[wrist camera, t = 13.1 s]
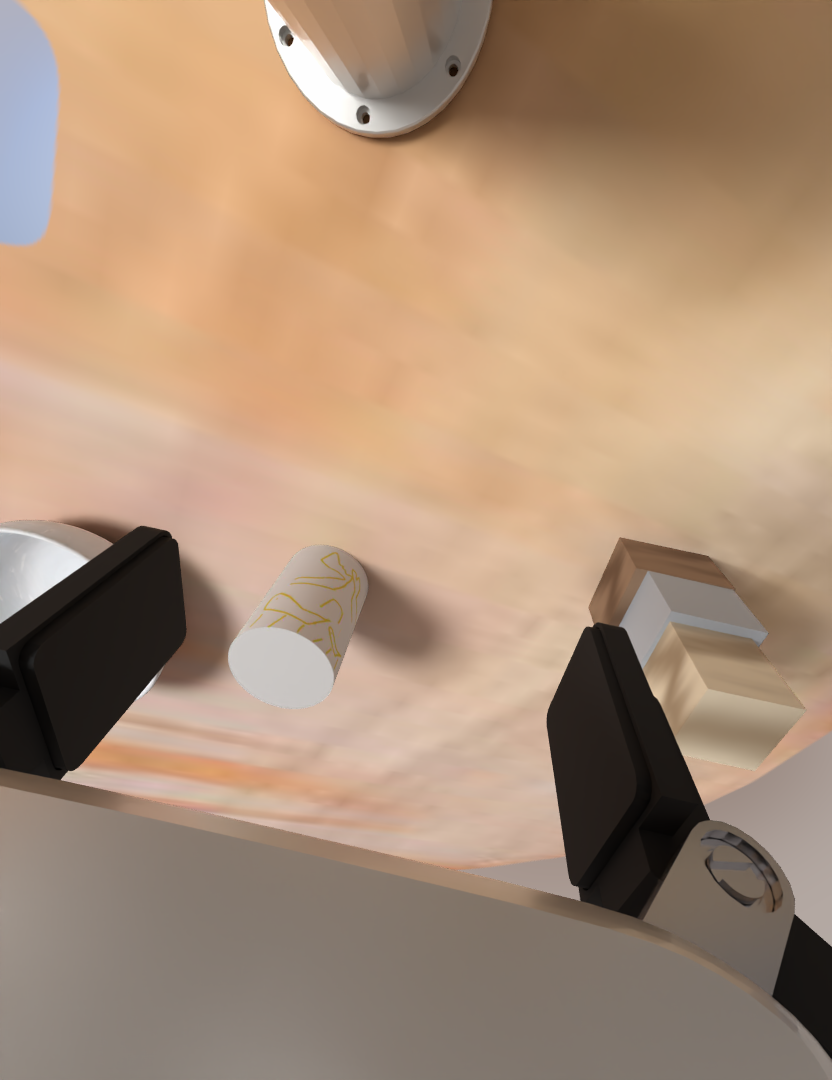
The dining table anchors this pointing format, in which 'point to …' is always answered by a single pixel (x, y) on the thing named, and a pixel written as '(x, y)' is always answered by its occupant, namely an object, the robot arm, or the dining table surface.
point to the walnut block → (631, 569)
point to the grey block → (685, 611)
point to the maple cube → (720, 695)
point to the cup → (301, 629)
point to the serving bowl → (42, 562)
